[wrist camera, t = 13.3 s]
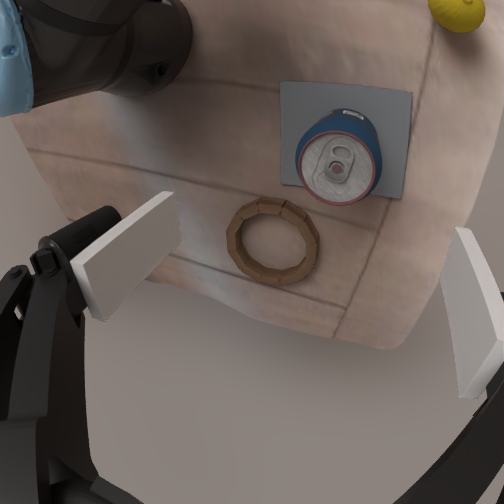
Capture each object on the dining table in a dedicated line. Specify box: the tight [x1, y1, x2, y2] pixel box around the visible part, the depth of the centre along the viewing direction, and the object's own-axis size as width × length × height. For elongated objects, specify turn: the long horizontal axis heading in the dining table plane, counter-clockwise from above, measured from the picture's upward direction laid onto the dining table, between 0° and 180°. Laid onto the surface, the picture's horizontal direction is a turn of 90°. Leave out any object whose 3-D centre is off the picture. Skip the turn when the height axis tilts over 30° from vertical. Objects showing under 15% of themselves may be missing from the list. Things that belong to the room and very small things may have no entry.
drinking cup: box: [34, 206, 121, 275], centre depth 42 cm, size 8×8×20 cm
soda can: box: [295, 108, 382, 206], centre depth 27 cm, size 7×7×12 cm
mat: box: [280, 81, 412, 199], centre depth 32 cm, size 14×12×1 cm
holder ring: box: [226, 197, 319, 286], centre depth 41 cm, size 12×12×2 cm
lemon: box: [428, 0, 485, 33], centre depth 18 cm, size 6×6×8 cm
